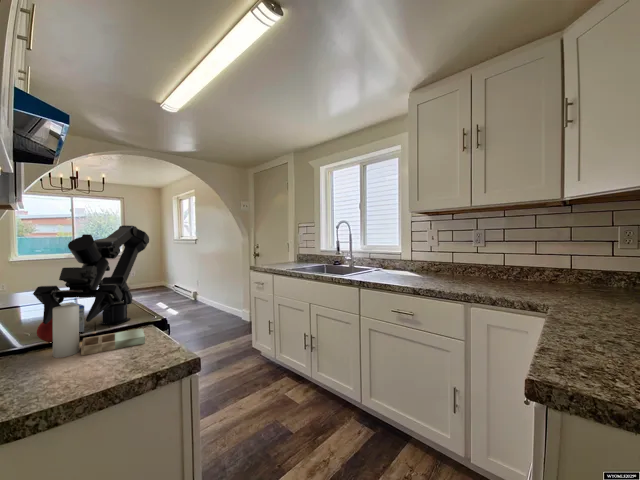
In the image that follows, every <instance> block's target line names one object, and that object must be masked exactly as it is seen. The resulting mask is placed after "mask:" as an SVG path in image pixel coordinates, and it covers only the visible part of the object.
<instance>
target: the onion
mask: <svg viewBox="0 0 640 480" xmlns="http://www.w3.org/2000/svg"><path fill="white" fill-rule="evenodd" d="M36 336H37V338H39V339H40V340H42V341H44V342H46V343H48V344H51V343H50V342H53V318H52V319H51V320H50V321H49V322H48V323H47V324H44V323H43V321H42V322H41V323H40V324H39V325H38V327H37V330H36Z"/></svg>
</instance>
